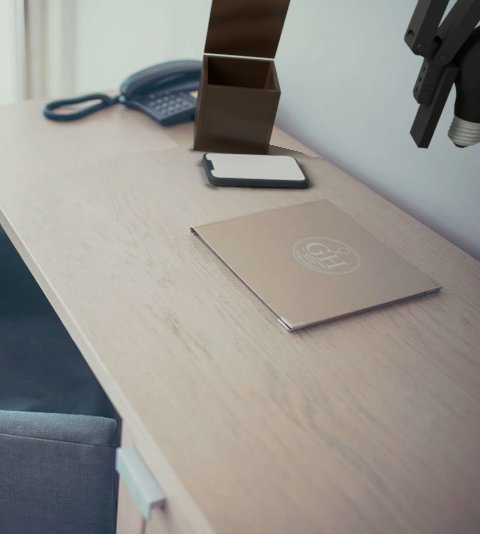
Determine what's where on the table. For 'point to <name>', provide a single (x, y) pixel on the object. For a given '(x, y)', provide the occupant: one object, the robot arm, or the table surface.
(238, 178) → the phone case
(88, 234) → the table surface
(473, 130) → the light bulb
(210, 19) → the lid
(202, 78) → the chest
